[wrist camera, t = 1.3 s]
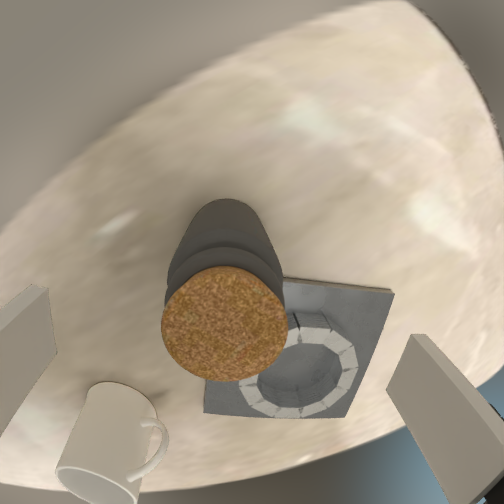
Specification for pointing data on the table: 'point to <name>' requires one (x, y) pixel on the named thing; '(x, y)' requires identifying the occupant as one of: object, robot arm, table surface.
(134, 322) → the table surface
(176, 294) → the bottle
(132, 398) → the mug
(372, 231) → the table surface
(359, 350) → the collar plate
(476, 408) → the robot arm
